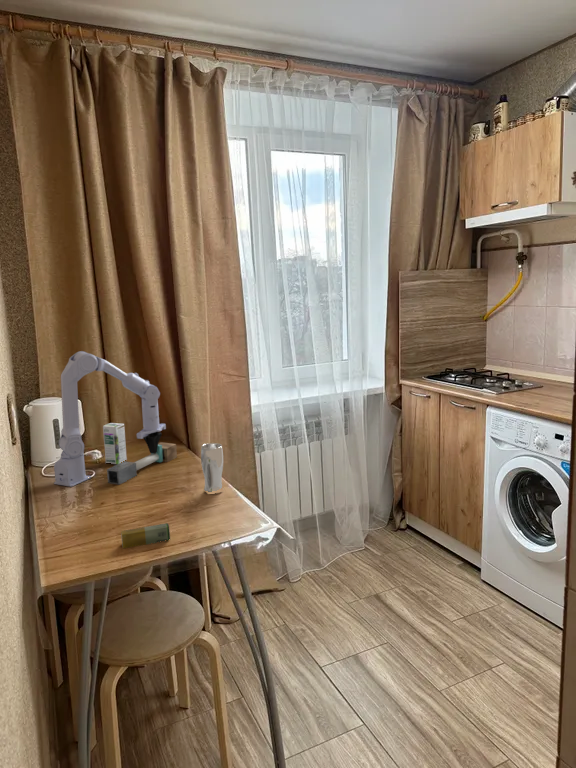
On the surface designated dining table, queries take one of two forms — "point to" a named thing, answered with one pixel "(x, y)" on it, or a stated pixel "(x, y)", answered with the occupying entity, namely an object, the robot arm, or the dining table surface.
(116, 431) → the syrup box
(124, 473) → the sleeve
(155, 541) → the medication box
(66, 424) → the robot arm
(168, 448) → the socket block
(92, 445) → the dining table surface
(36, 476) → the dining table surface
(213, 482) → the beer glass
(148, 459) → the slip tube
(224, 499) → the dining table surface
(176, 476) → the dining table surface
